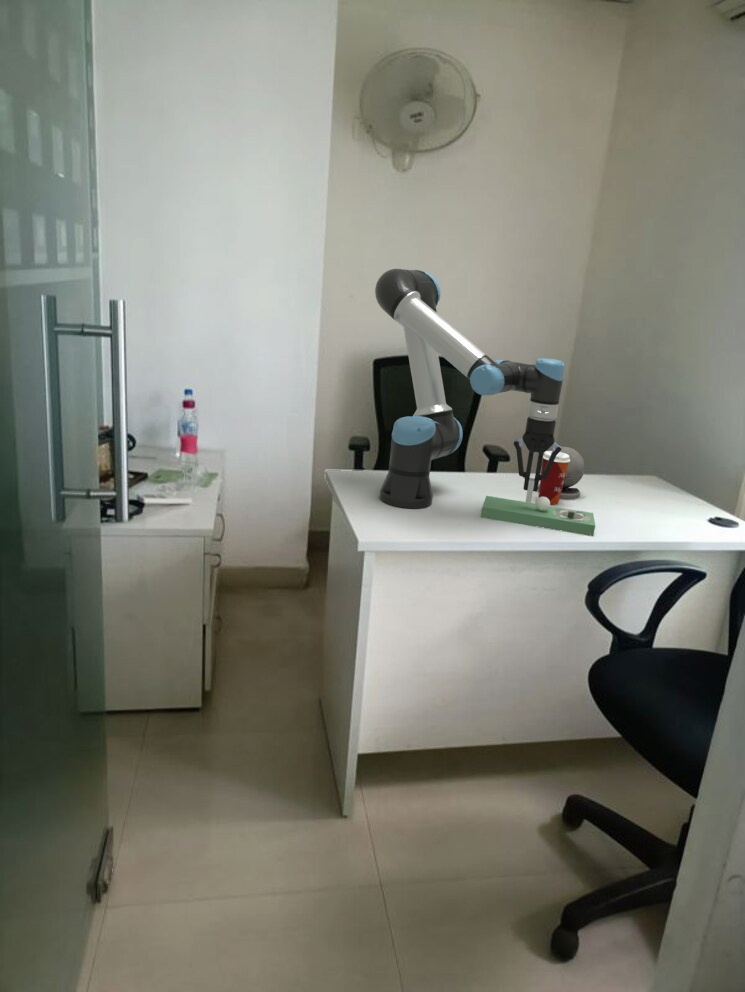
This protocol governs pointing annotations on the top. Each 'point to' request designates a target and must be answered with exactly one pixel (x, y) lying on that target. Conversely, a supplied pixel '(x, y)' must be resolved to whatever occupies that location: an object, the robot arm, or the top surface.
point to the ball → (542, 503)
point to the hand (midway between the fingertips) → (528, 501)
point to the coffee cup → (554, 477)
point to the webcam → (572, 474)
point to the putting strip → (538, 515)
